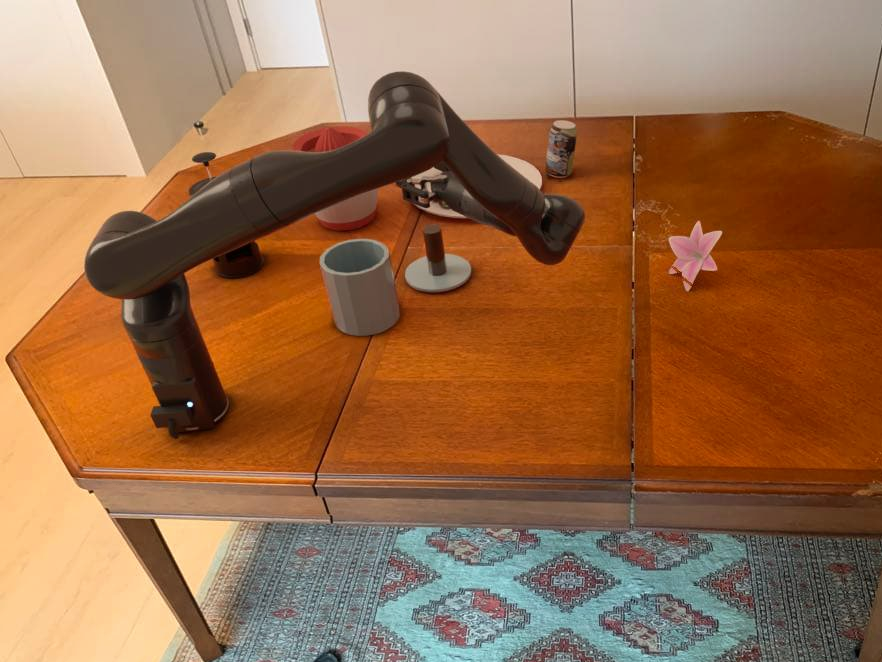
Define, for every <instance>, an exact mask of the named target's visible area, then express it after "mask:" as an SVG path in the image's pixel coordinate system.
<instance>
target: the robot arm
mask: <svg viewBox="0 0 882 662" xmlns="http://www.w3.org/2000/svg"><path fill="white" fill-rule="evenodd" d="M367 100H368V101H367V112H368V118H369V123H370V129H371V131H370V132H368V134H367V135H366V136H364V137H362V138H360V139H358V140H356V141H354V142H352V143H350V144H348V145H345V146H343V147H341V148H338V149H335V150H332V151H327V152H305V151H294V150H292V149H278V150H277V149H276V150H270V151H266V152H263V153H260V154H258V155H255V156H253V157H251V158H249V159H247V160H245V161H243V162H241V163H239V164H237V165H234V166H233V167H230V168H229V169H227V170H226V171H223V172H222V173H220V174H219V175H217V176H215V177H216V178H214V179H213V180H211V181H210V182H209V183H207V184H206V185H205V186H204V187H202V188H201V189H200V190H199V191H198V192H196V193H195V194H194V195H193V196H190V197H189V198H188V199H187V200H185V201H184V202H183V203H182V204H181V205H179V206H178V207H177V208H175V210H173V211H172V212H171V213H169V214H167V215H166V216H164V217H163V218H161V219H158V220H156V219H155V218H153V217H152V216H150V215H149V214H146V213H144V212H141V211H137V210H123V211H122V210H121V211H120V212H116V213H113V214H112V215H111V216H109V217H108V218H107V219H106V220H105V221H104V222H103V224H102V225H101V227H100V228H99V229H98V231H97V232H96V235H95V236H94V238H93V239H92V241H91V242H90V244H89V246H88V248H87V250H86V253H85V259H84V265H83V268H84V274H85V277H86V280H87V281H88V283H89V285H90V286H91V287H92V288H93V289H94V290H95V291H96V292H98V293H100V294H101V295H103V296H106V297H109V298H111V299H116V300H121V308H120V319H121V322H122V325H123V327H124V330H125V332H126V334H127V336H128V338H129V340H130V342H131V345H132V347H133V349H134V351H135V353H136V355H137V357H138V360H139V362H140V364H141V366H142V368H143V370H144V372H145V374H146V377H147V378H148V380H149V381H148V382H149V383H150V386H151V390H152V391H153V393H154V395H155V398H156V400H157V402H158V404H159V405H154V406H152V408H151V412H150V414H149V415H150V418H151V420H152V422H153V424H154V426H155V428H156V429H165V428H167V429H168V430H167V431H168V434H169V436H170V437H171V438H172V439H174V440H178V439H180V435H179V434H180V433H188V432H196V431H206V430H212V429H215V425H216V424H217V423H219V422H220V421H221V420H222V419H223V418H224V417H225V416H226V415H227V413H228V412H229V409H230V400H229V397H228V396H227V394H226V392H225V390H224V387H223V385H222V382H221V380H220V377H219V374H218V371H217V369H216V367H215V364H214V361H213V359H212V357H211V354H210V351H209V349H208V345H207V344H206V342H205V339H204V336H203V334H202V331H201V329H200V326H199V324H198V321H197V318H196V316H195V313H194V310H193V308H192V305H191V293H190V287H189V284H188V280H187V277H186V273H188V272H189V271H192V270H193V269H195V268H196V267H199V266H200V265H203V264H204V263H207V262H209V261H211V260H213V259H214V258H216V257H218V256H221V255H223V254H226V253H228V252H230V251H233V250H235V249H237V248H239V247H241V246H244V245H246V244H248V243H250V242H252V241H255V242H256V241H257V240H259V239H262V238H265V237H267V236H269V235H271V234H274V233H277V232H278V231H281V230H283V229H285V228H287V227H290V226H291V225H294V224H295V223H298V222H300V221H301V220H303V219H305V218H308V217H309V216H312V215H313V214H314V215H315V213H316V212H319V211H321V210H323V209H326V208H328V207H330V206H333V205H335V204H338V203H340V202H342V201H345V200H347V199H350V198H352V197H354V196H357V195H360V194H363V193H365V192H368V191H371V190H374V189H377V188H378V189H380V188H383V187H387V186H390V185H394V184H395V186H396V187H398V188H400V189H401V193H402V200H404V201H405V202H408V203H411V204H413V205H414V204H416V205H418V206H421V207H423V208H429V207H430V202H431V201H433V200H438V201H444V202H445V203H446V204H447V205H448V206H449V208H450V209H451V210H453V211H455V212H457V213H459V214H461V215H463V216H466V217H468V218H467V219H470V220H472V221H474V222H477V223H478V224H482V225H485V226H488V227H491V228H493V229H496V230H498V231H500V232H502V233H505V234H506V235H509V236H513V237H517V239H518V240H519V242H520V244H521V246H522V247H523V249H524V250H526V252H527V253H528V254H529V255H530V257H532V258H533V259H534V260H535V261H537V262H538V263H540V264H543V265H546V266H556V265H559V264H561V263H562V262H563V261H564V260H565V259H566V258H567V256H568V254H569V252H570V249H571V248H572V246H573V244H574V243H575V241H576V239H577V237H578V235H579V233H580V231H581V230H582V228H583V225H584V223H585V220H586V215H585V211H584V209H583V207H582V205H581V204H580V203H579V202H577V201H576V200H575V199H573V198H572V197H569V196H566V195H562V194H556V193H543V191H542V190H541V189H539V188H538V187H537V186H535V185H534V184H533V183H532V182H530V181H529V180H528V179H527V178H525V177H524V176H523V175H522V174H520V173H519V172H518V171H516V170H515V169H514V168H513V167H511V166H510V165H509V164H508V163H507V162H505V161H504V160H503V159H502V158H501V157H499V156H498V155H497V154H498V153H496V152H495V151H494V150H493V149H492V148H491V147H490V146H489V145H488V144H487V143H485V142H484V141H483V139H481V137H479V136H478V135H477V134H476V132H475V131H473V130H472V128H471V127H469V125H468V124H467V123H466V122H465V121H464V120H463V119H462V118H461V117H460V116H459V115H458V114H457V113H456V111H455V110H454V109H453V108H452V107H451V106H450V105H449V103H448V102H447V100H446V99H444V97H443V96H442V95H441V93H440V92H439V91H438V90H437V89H436V88H435V87H434V85H433V84H431V82H430V81H429V80H427V79H425V78H424V77H423V76H421V75H419V74H417V73H414V72H411V71H405V70H403V71H393V72H388V73H387V74H385V75H382V76H381V77H379V78H378V79H377V80H376V81H375V82H374V83H373V85H372V87H371V88H370V90H369V93H368V98H367ZM433 167H434V168H435V169H437V170H440V171H442V173H441V174H440V175H437V176H422V178H421V179H412V178H411V177H413V176H416V175H419V174H421V173H423V172H426V171H428V170H430V169H431V168H433ZM426 182H430V185H431V191H432V192H429V191H428V190H427V183H426ZM415 185H420V186H421V189H419V188H417V187H415ZM416 205H415V206H416Z"/></svg>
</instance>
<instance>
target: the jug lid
mask: <svg viewBox="0 0 882 662" xmlns="http://www.w3.org/2000/svg"><path fill="white" fill-rule="evenodd" d="M442 229H443V228H442V226H441V225H439V224H435V223H432V224H427V225H425V226H424V227H423V228H422V235H423V243H424V248H425V255H426V256H425V255H424V256H422V257H420V258H417V259H416V260H414V261H412V262H411V263H410V264H409V265H408V266H407V267H406V269H405V271H404V279H405V281H406V283H407V285H409V286H410V287H411V288H413V289H415V290H417V291H420V292H424V293H425V292H426V293H441V292H447V291H450V290H454V289H457V288H459V287H460V286H462V285H464V284H465V283H467V282H468V280H469V279H470V278H471V275H472V266H471V264H470V262H469V261H468V260H467V259H466V258H464V257H463V256H460V255H457V254H452V253H446V252H445V245H444V239H443V238H444V237H443V230H442Z"/></svg>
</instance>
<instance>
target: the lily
mask: <svg viewBox="0 0 882 662" xmlns="http://www.w3.org/2000/svg"><path fill="white" fill-rule="evenodd" d="M722 235H723V230H714V231H710V232H707V233H703V228H702V224H701V221H700V220H697V221H696V223H695V224H694V227H693V228H692V230H691V233H690V235H689V236H684V235H672V236H669V237H668V243H669V246H670V248H671V250H672V252H673V253H674V255H675V256H676V259H675V261H674V262H673V264H672V265H671V267H672V266H674V267H676V268H677V269H678V270H679V271H680V272H681V277H682V276H683V277H684V278H686V279H687V280H688V281H689V282H691V283H692V285H693V284H694V281H695V280H696V277H697V275H698V274H699V271H700V270H702V271H708V272H709V271H712V272H714V271H718V267H717V265H716V262H715V261H714V258H713V257H712V255H711V254H710V253H711V251H712V250H713V248H714V247H715V245H716V244H717V242H718V241H719V239H720V238H721V236H722ZM671 267H670V268H669V270H668V274H669V275H673V274H677V272H676V271H675V270H674V269H673V268H671ZM680 272H679V273H680ZM682 283H683V286H684V289H685V291H686V292H689V291H690V289H691V288H692V286H690V285H689V284H688V283H686V282H685V281H683V280H682Z"/></svg>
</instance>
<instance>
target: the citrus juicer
mask: <svg viewBox="0 0 882 662" xmlns="http://www.w3.org/2000/svg"><path fill="white" fill-rule="evenodd" d="M367 134H369V132H368V131H366V130H364V129H362V128H358V127H353V126H340V125H339V126H327V127H323V128H319V129H315V130H311V131H310V132H307V133H304V134H303V135H301V136H299V137H298V138H296V140H295V141H294V142H293V144H292V147H291V150H294V151H305V152H327V151H332V150H335V149H338V148H341V147H343V146H345V145H348V144H350V143H352V142H354V141H356V140H358V139H360V138H362V137H364V136H366V135H367ZM378 198H379V188H377V189H374V190H371V191H368V192H365V193H363V194H360V195H357V196H354V197H352V198H350V199H347V200H345V201H342V202H340V203H338V204H335V205H333V206H330V207H328V208H326V209H323V210H321V211H319V212H316V213H314V216H315V217H316V219H317V220H318V221H319V223H320V224H321V225H322V226H323V227H325V228H326V229H329V230H333V231H349V230H350V231H351V230H358V229H360V228H361V227H364V226H365V225H366V226H367V224H369V223H371V222H372V221H373V220H374V219H375V216H376V213H377V208H378Z"/></svg>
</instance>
